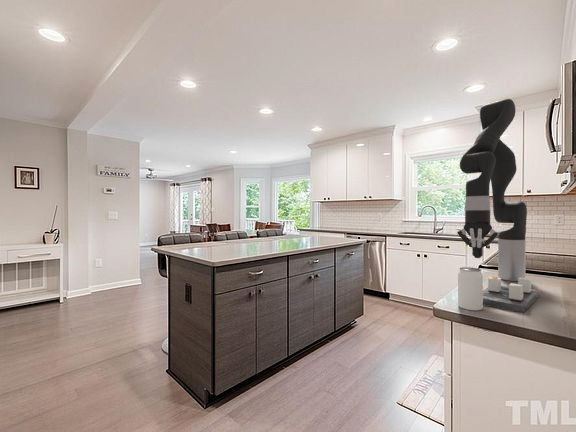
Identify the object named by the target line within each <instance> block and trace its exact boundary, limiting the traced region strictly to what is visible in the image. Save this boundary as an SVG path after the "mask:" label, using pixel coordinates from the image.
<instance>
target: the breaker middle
mask: <svg viewBox="0 0 576 432" xmlns="http://www.w3.org/2000/svg"><path fill="white" fill-rule="evenodd" d="M501 285H502V279H501V278H498V276H489V277H488V278H487V288H488V290H490V291H496V292H499V291H501Z"/></svg>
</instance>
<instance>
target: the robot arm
mask: <svg viewBox="0 0 576 432" xmlns="http://www.w3.org/2000/svg"><path fill="white" fill-rule="evenodd" d="M515 116H516V105H515V102H514V100H512V99H511V98H504V99H501V100H497V101H493V102H490V103H486V104H483V105H482V106H481V107H480V109H479V120H480V125H481V129H482V130H481V132H480V133H479V134H478V136H476V138H475V141H474V143H473V145H472V146H471V147H470V148H469V149H468V150H467V151H466V152H465V153H464V154H463V155H462V157H461V159H460V161H459V169H460V170H461V172H463V173H464V174H469V175H470V174H480V175H479V176H478V177H476V178H474V179H470V180H468V181H467V182H466V183H465V202H464V225H463V228H462V229H460V230H458V231H457V235H458V236H459V237H460V238H461V240H462V241H463V242H464V243H465V245H466V246H470V247H471V248H472V249H471V250H472V256H473V257H474V258H475V259H480V258H481V257H483V256H484V247H488V246H489V245H491V244H492V242H493V241H495V239H497V241H498V242H497V243H498V244H497V245H498V246H497V252H498V253H497V255H498V259H497V260H498V262H497V264H498V267H497V269H498V270H497V271H498V273H497V277H498V278H501V280H505V281H510V282H518V278H520V277H522V278H526V233H527V218H528V215H527V214H528V208H527V205H526V203H525V202H524V201H505V193H506V191H507V188H508V186H509V185H510V183H511V181H512V180H513V179H514V177H515V175H516V174H517V161H516V154H515V153H514V151H513V150H512V149H511V148H510V147H509V146H508V145H507V144H505V142H503V140H501V137H502V136H503V134H504V133H505V131H506V130H507V129H508V128H509V126H510V125H511V123H512V122H513V120H514V118H515ZM490 183H491V185H490ZM490 186H491V193H492V211H493V217H494V220H495V221H496V222H497V223H498V224H500V223H501V224H513V226H512V227H510V228H509V229H507V230H501V231H495V230H494V229H493V227H492V225H491V200H490V199H491V198H490ZM488 234H489V237H488V239H486V240H485V238H486V237H487V236H488ZM468 236H469V237H468Z"/></svg>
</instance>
